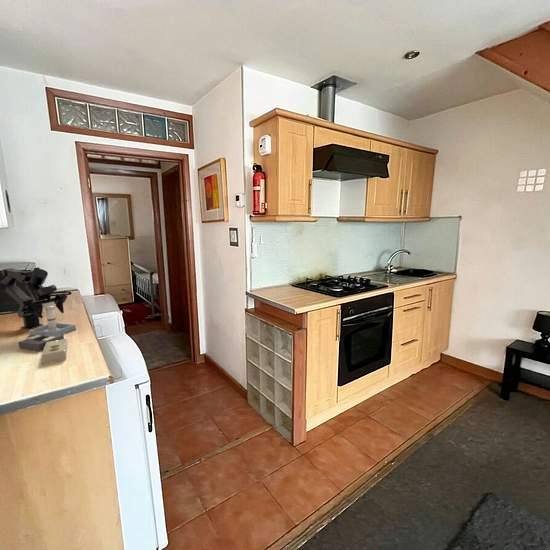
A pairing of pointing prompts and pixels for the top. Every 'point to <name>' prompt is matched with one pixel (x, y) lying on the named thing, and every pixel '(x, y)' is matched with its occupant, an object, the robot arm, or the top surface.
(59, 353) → the electrical outlet
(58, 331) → the parts tray
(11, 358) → the top surface
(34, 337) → the socket block
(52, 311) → the light bulb
